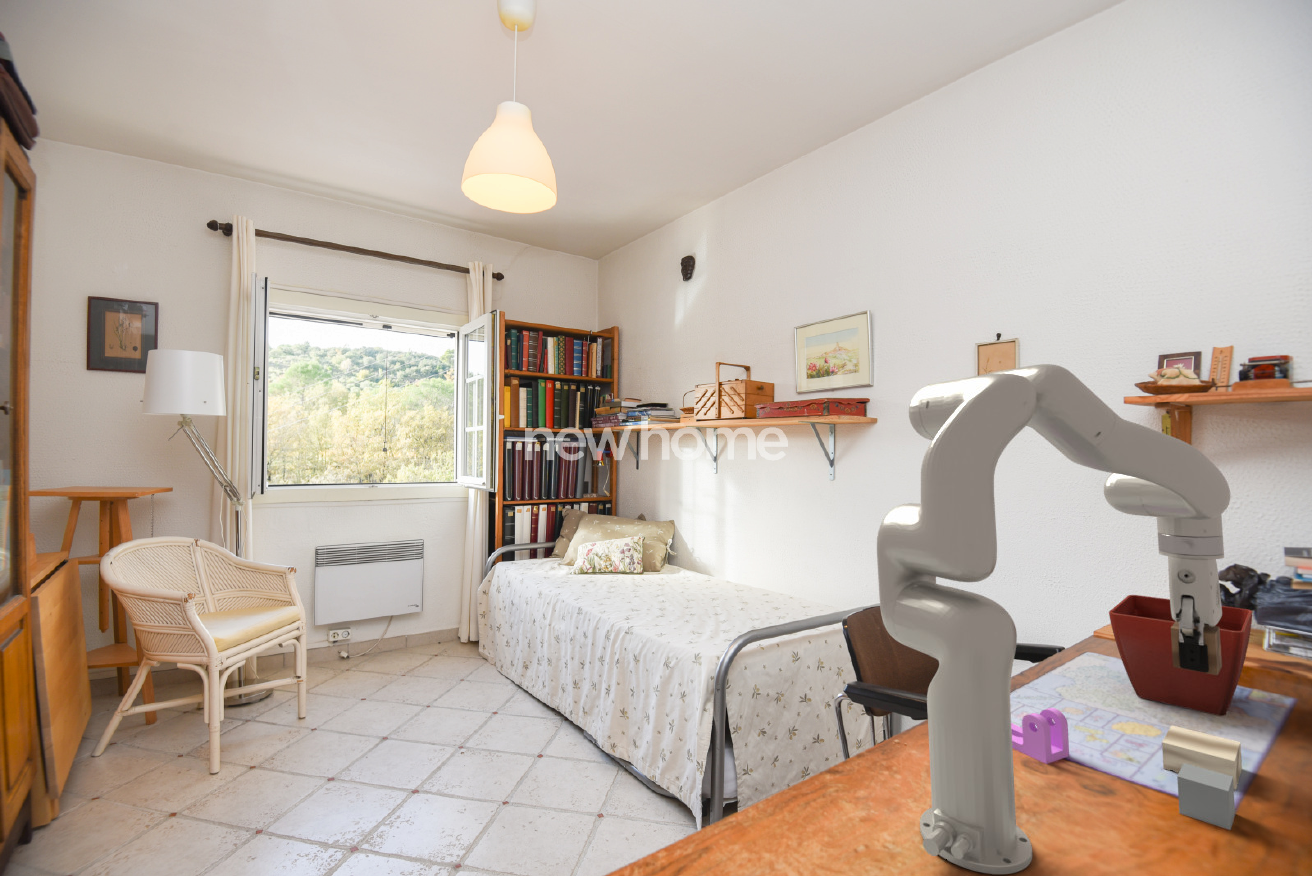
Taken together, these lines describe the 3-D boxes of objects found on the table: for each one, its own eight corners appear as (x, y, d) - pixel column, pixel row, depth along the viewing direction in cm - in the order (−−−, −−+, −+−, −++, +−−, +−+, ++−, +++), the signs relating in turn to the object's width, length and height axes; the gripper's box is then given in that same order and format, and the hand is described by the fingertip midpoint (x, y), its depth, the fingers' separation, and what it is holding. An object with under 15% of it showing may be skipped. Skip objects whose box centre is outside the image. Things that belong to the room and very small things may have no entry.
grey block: (1230, 830, 77) (1228, 791, 77) (1179, 813, 80) (1177, 776, 81) (1235, 814, 80) (1233, 776, 80) (1185, 798, 84) (1183, 762, 84)
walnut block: (1217, 675, 88) (1215, 634, 88) (1173, 667, 92) (1170, 627, 92) (1221, 666, 91) (1219, 626, 91) (1178, 658, 95) (1176, 620, 95)
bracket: (1069, 756, 96) (1067, 713, 96) (1046, 765, 94) (1043, 720, 94) (995, 724, 108) (994, 685, 108) (973, 730, 106) (971, 691, 106)
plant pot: (1249, 730, 102) (1243, 631, 103) (1111, 698, 117) (1107, 611, 117) (1258, 697, 115) (1253, 609, 115) (1133, 672, 129) (1129, 594, 130)
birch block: (1236, 789, 85) (1234, 761, 85) (1163, 768, 91) (1162, 742, 91) (1242, 768, 90) (1240, 742, 91) (1172, 750, 97) (1171, 725, 97)
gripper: (1215, 556, 83) (1224, 687, 83) (1230, 540, 95) (1237, 656, 94) (1147, 551, 89) (1154, 674, 89) (1168, 537, 100) (1175, 646, 100)
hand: (1197, 663), depth 91 cm, fingers closed on walnut block, 4 cm apart
